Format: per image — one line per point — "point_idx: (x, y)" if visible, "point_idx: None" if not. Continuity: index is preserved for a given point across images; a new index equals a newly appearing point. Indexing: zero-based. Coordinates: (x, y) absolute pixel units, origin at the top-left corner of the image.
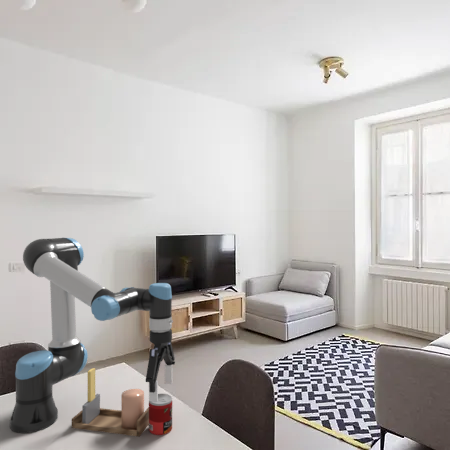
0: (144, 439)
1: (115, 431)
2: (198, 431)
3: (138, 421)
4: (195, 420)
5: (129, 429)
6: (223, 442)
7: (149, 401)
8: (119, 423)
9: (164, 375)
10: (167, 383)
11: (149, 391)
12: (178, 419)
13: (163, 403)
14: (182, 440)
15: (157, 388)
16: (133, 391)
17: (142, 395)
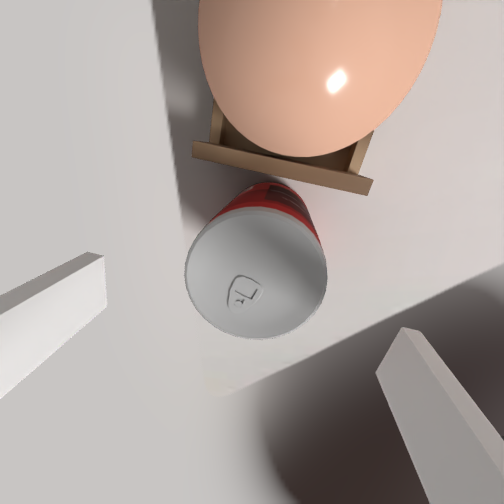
0: (210, 176)
1: None
2: None
3: (192, 150)
4: (326, 324)
5: None
6: (215, 377)
7: (221, 216)
8: None
9: (445, 393)
10: (391, 349)
11: (10, 295)
12: (340, 275)
13: (194, 303)
14: None
15: (12, 381)
16: (365, 19)
17: (273, 151)
